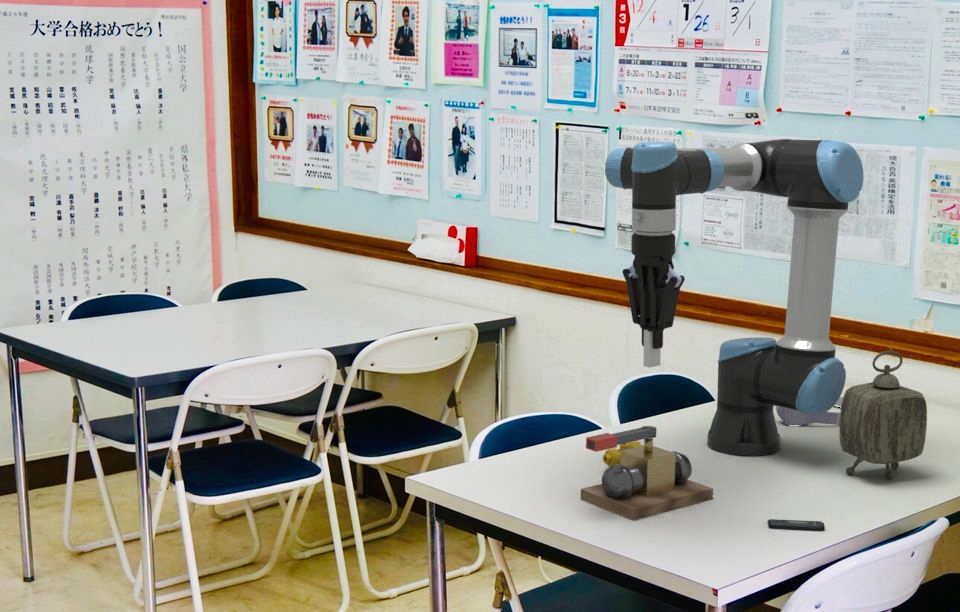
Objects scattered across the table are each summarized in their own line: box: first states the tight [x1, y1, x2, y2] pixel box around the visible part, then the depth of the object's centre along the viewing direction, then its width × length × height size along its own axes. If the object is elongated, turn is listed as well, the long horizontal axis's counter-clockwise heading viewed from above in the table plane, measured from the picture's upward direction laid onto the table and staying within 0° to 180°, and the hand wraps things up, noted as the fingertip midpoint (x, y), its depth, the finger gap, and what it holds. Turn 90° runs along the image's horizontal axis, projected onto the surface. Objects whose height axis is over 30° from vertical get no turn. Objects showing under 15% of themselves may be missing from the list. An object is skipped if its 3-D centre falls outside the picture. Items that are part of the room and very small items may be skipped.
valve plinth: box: [580, 479, 714, 521], centre depth 225 cm, size 20×14×2 cm
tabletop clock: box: [838, 350, 928, 481], centre depth 238 cm, size 14×9×25 cm, turn 111°
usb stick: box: [767, 518, 826, 532], centre depth 211 cm, size 10×3×2 cm, turn 82°
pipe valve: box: [601, 438, 693, 499], centre depth 224 cm, size 18×7×10 cm, turn 127°
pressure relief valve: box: [602, 440, 643, 468], centre depth 241 cm, size 6×12×10 cm
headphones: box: [775, 396, 843, 426], centre depth 285 cm, size 22×7×20 cm
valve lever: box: [585, 425, 657, 453], centre depth 220 cm, size 15×3×2 cm, turn 127°
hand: (651, 365), depth 216 cm, fingers closed
